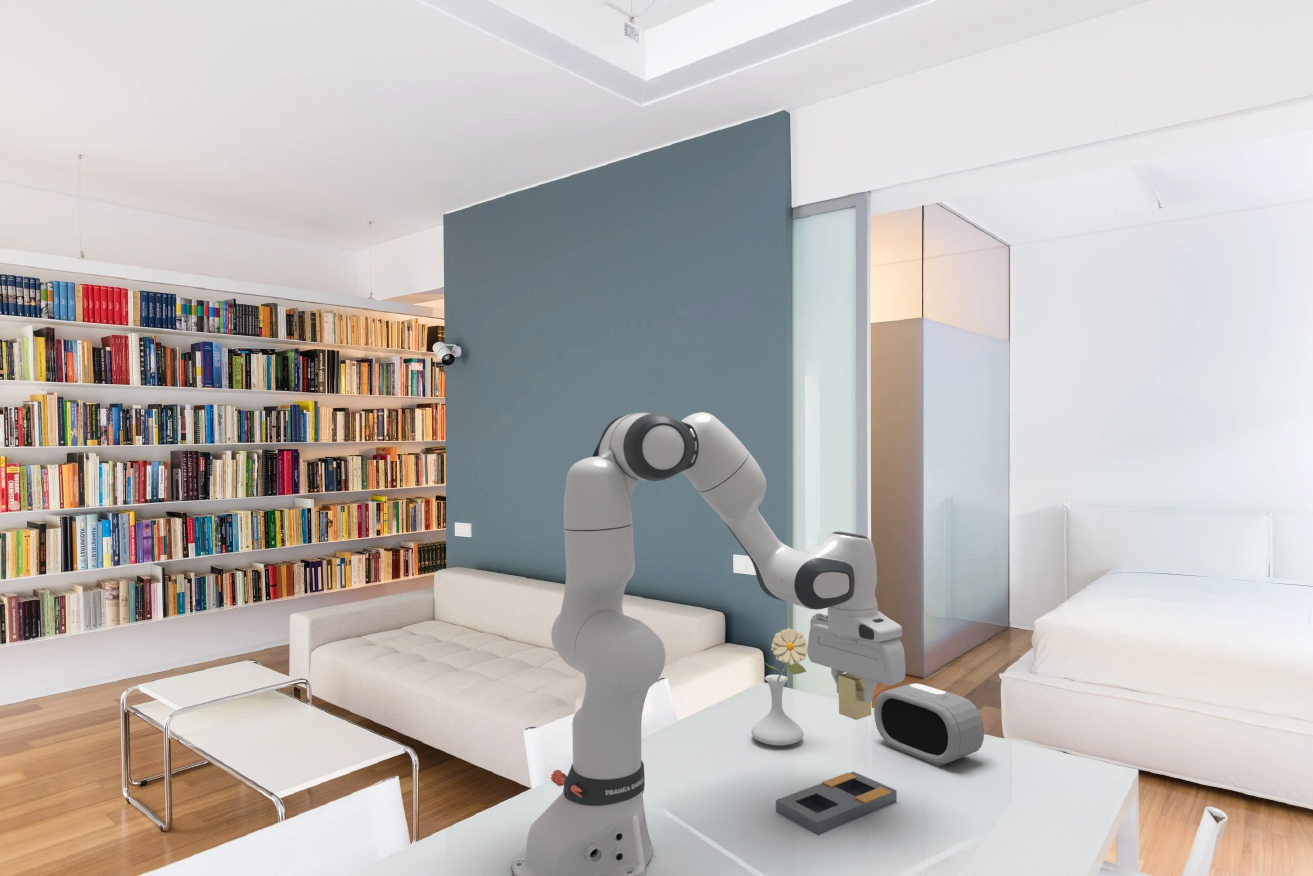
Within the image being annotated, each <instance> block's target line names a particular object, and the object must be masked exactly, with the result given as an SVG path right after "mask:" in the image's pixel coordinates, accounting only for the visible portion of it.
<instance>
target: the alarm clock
mask: <svg viewBox="0 0 1313 876" xmlns="http://www.w3.org/2000/svg"><path fill="white" fill-rule="evenodd" d="M873 709H874V711H873V712H874V713H873V716H874V722H875V727H876V729H877V732H878V733H879V735H880V736H881V738H882V739H883V740H884V741H885V742H886V743H888V744H890V745H891V746H893V747H892V748H893V749H895V750H896V749H897V750H896V751H899V750H900V751H899V752H902V753H905V754H907V755H910V756H912V757H914V758H917V759H919V760H921V761H925V762H927V763H930V764H932V765H935V766H938V767H941V766H944V765H946V764H949V763H952V762H954V761H956V759H957V760H959V758H960V759H962V758H963V757H965V756H968V755H971V754H973V753H976V752H978V751H979V750H980V749H981V748H982V745H983V742H984V737H985V728H984V727H985V726H984V721H983V717H982V714H981V712H980V711H979V709H978V707H977V706H976V705H975V704H974V703H973V702H972V700H970V699H967V698H965V697H963V696H961V695H958V694H956V693H952V692H949V691H945V690H942V689H940V688H935V687H932V686H928V685H925V684H923V683H922V684H921V683H915V682H912V683H908V684H905V685H901V686H898V687H895V688H890V689H888V690H885V691H883V692H881V693H879V694H878V695H877V697H876V699H875V702H874V707H873ZM961 757H962V758H961Z"/></svg>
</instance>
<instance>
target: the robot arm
mask: <svg viewBox="0 0 1313 876" xmlns="http://www.w3.org/2000/svg"><path fill="white" fill-rule="evenodd" d="M680 473H681V474H682V475H684V476H685V477H686V478H687V479H688V480H689V482H690V483H691V484H692V487H694V488H695V490H696V491H697V493H699V495H700V496H701V497H702V498H703V499H704V501H705V502H706V503H707V504H708V505H709V506H710V507H711V508H712V509H713V511H714V512H715V513H716V514H717V515H718V516H719V517H720V519H721V520H722V521H723V523H724V524H725V525H726V526H727V528H728V529H729V531H730V533H732V535H733V536H734V538H735V539H736V540H737V542H738V543H739V545H740V546H741V548H742V549H743V551H744V552H745V553H746V555H747V556H748V558H749V560H750V562H751V563H752V566H753V569H754V572H755V574H756V578H757V581H758V584H759V586H760V588H761V590H762V591H763V592H764V593H765V594H766V595H767V596H768V597H770V598H772V599H774V600H779V601H782V602H783V601H784V602H788V603H790V604H794V605H796V606H799V607H802V608H805V609H809V610H824V609H827V615H825V614H823V613H816V614H814V615H812V617H810V618H811V619H810V621H809V622H810V625H809V626H810V629H809V633H808V637H807V638H808V640H807V643H808V649H807V650H808V652H807V656H808V659H809V661H810V662H811V663H813V664H817V665H820V666H824V667H827V668H829V669H830V670H831V671H830V673H831V675H832V678H833V681H834V682H835V684H836V693H837V694H839V689H838V675H841V674H845V673H849V674H853V675H856V676H859V677H863V678H864V684H866V687H865V689H864V691H860V700H861V701H863V702H866V703H869V702H871V703H872V702H873V699H874V697H873V696H874V695H873V692H874V691H875V689H876V687H877V685H878V683H880V684H883V685H886V686H895V685H898V684H901V683H903V682H904V679H905V678H906V657H905V650H904V649H905V648H904V646H903V645H904V644H903V643H902V641H901V640H900V639H899V638H900V637H901V636H903V627H902V625H901V624H899V623H897V622H896V621H894V620H892V619H891V618H889V617H888V616H887V615H886V614H884V613H882V611H879V609H878V608H879V607H878V600H877V598H876V587H877V584H878V583H877V582H878V572H877V571H878V569H877V557H876V551H875V548H874V543H873V542H872V540H871V539H870V538H869V537H868V536H866V535H862V534H858V533H852V532H845V531H833V532H830V534H829V536H828V537H827V538H826V539H825V540H824V541H823V542H822V543H820V544H819V545H817V546H816V547H814V548H813V549H810V550H808V551H807V552H806V551H804V550H803V551H802V550H798V549H796V548H794V547H791V546H788V545H786V544H785V543H783V542H782V541H781V540H779V539H778V537H777V536H776V534H775V533H774V531H773V530H772V528H771V527H770V526H769V524H768V523H767V521H766V520H765V519H764V517H763V515H762V514H761V512H760V511H759V508H758V507H759V506H760V504H761V503H762V502H763V500H764V498H765V495H766V492H767V486H768V485H767V478H766V477H765V475H764V472H763V470H762V468H761V466H760V465H759V463H758V462H757V460H756V459H755V457H754V456H753V455H752V454H751V452H750V451H749V450H748V449H747V448H746V446H745V445H744V444H743V442H742V441H741V440H740V439H739V438H738V437H737V436H736V435H735V434H734V432H732V431H731V430H730V428H728V427H727V426H726V424H724V423H723V422H722V421H720V420H719V419H718V418H717V417H716V416H715V415H713V414H711V413H708V412H703V411H701V412H695V413H691V414H690V415H687V416H686V417H684V418H683V419H682V420H679V419H678V418H675V417H673V416H670V415H668V414H665V413H664V414H663V413H657V412H654V413H653V412H652V413H650V412H645V411H643V412H641V411H640V412H635V413H633V412H632V413H629V414H624V415H621V416H618V417H616V418H614V420H612V421H611V422H609V424H607V426H606V427H605V429H604V430H603V431H602V434H601V436H600V439H599V441H598V443H597V446H596V448H595V450H594V451H593V454H592V456H590V457H589V456H588V457H586V458H582V459H581V460H579V461H577V462H575V463H574V464H573V465H571V467H570V468H569V470H568V472H567V475H566V480H565V487H564V496H563V497H564V498H563V528H564V529H563V532H564V548H565V549H564V551H565V570H566V572H565V587H564V592H563V599H562V603H561V609H560V613H559V614H558V615H557V617H556V618H555V620H554V621H553V625H552V628H551V633H550V634H551V641H552V645H553V648H554V649H555V651H556V652H557V654H558V655H559V657H560V658H561V659H562V661H563V662H564V663H565V664H567V665H568V666H569V667H571V668H572V669H574V670H577V671H578V672H580V673H582V674H583V675H584V678H585V690H584V691H585V692H584V696H583V700H582V703H581V707H580V708H579V709H578V710H577V711H575V713H574V716H573V718H572V725H571V728H572V764H571V765H570V768H569V771H568V773H567V775H566V774H565V773H564V772H562V771H561V770H560V769H555V770H553V772H552V774H551V775H550V779H551V782H552V783H553V784H555V785H556V786H558V787H562V786H563V789H562V792H561V794H559V796H558V797H557V798H556V799H555V800H554V801H553V802H552V803H551V804H550V805H549V806H548V808H546V809H545V810H544V811H543V812H542V813H541V815H540V816H538V817H537V818H536V819H535V820H534V821H533V822H532V823H531V824H530V825H531V826H530V827H529V831H528V834H527V840H526V849H525V850H522V851H521V852H519V853H516V854H515V855H514V856H513V858H512V862H511V871H513V872H512V874H513V873H514V875H515V876H646V867H647V865H648V864H649V862H650V861H651V860H652V858H653V854H654V847H653V844H652V842H651V838H650V834H649V830H648V825H647V821H646V812H645V804H644V803H645V802H644V792H645V784H646V783H645V779H646V778H645V763H644V762H643V760H642V719H643V711H644V707H645V706H644V705H645V702H646V699H647V695H648V692H649V689H650V688H651V687H652V686H653V685H655V683H656V682H657V681H658V680H659V679H660V677H661V675H662V673H663V671H664V669H665V664H666V649H665V646H664V643H663V641H662V639H661V637H659V635H658V634H657V633H655V631H653V629H651V628H650V627H649V626H648V625H646V624H645V623H644V622H643V621H641V620H639V619H637V618H634V617H632V616H631V617H630V616H628V615H625V614H624V611H623V600H624V594H625V590H626V587H627V584H628V582H629V581H630V580H631V579H632V577H633V575H634V573H635V570H636V561H635V559H636V558H635V544H634V527H633V513H632V501H633V499H632V498H633V494H634V491H635V488H636V487H637V485H638V483H639V482H640V481H645V482H647V481H649V482H661V481H664V480H667V479H671V478H672V477H675V476H676V475H679V474H680ZM514 875H513V876H514Z"/></svg>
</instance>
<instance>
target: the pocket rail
mask: <svg viewBox="0 0 1313 876" xmlns="http://www.w3.org/2000/svg"><path fill="white" fill-rule="evenodd" d="M897 791H898V790H896V789H894V788H892V787H890V786H887V785H885V784H883V783H881V782H878V781H876V780H874V779H871V778H870V777H868V776H867V777H866V776H864V775H863V774H860V773H857V772H856V771H851V772H845V773H843V774H839V775H837V776H835V777H831V778H829V779H826V780H824V781H821V783H819V784H816V785H814V786H811V787H807V788H805V789H803V790H800V791H798V792H794V793H791V794H789V795H786V796H783V797H780V798H779V799H775V812H776V813H777V814H778V815H781V816H782V817H784V818H786V819H788V820H790V821H792V822H793V823H795V824H796V825H799V826H800V827H802V828H804V829H806V830H808V831H809V832H812V833H814V835H816V836H820V835H822V834H824V833H826V832H829V831H831V830H833V829H836V828H838V827H840V826H843V825H846V824H848V823H850V822H853V821H855V820H856V819H859V818H862V817H864V816H866V815H868V814H871V813H873V812H876V811H878V810H881V809H883V808H886V807H888V806H890V805H893V804H895V803H897V802H898V801H897V799H898V797H897V793H898V792H897Z"/></svg>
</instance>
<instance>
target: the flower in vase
mask: <svg viewBox="0 0 1313 876" xmlns="http://www.w3.org/2000/svg"><path fill="white" fill-rule="evenodd" d="M772 640H773V641H772V643H771V645H770V646H771V648H770V650H771V651H772V652H773V653H772V654H773V655H774V656H775V660H777V661H779V662H781V663H783V664H785V666H784V667H783V669H782V670H779V669H778V668H777V667H775V666H771V665H769V664H768V663H766V662H764V664H765V665H766V666H767V667H769V668H771V669H773V670H775V671H778V673H779V672H780V673H779V674H768V675H766V676H765V677H764V679H765V681H766V682H767V684H768V686H769V689H770V695H771V696H770V697H771V708H770V710H769V712H768V713H767V714H766V715H765V716H763V717H762V718H761V719H760V720H758V721H757V722H756V723H755V724H754V725H753V727H752V729H751V735H752V736H753V738H754V739H755V740H757V741H758V742H761V743H762V744H765V745H769V746H789V745H793V744H796V743H799V742H800V741H801V740H802V739H803V737H804V736H805V735H804V734H805V733H804V731H803V729H802V728H801V726H800V725H799V724H798V723H797V722H796V721H795V720H793V719H792V718H791V717H790V716H789V715H787V714H786V712H784V709H783V702H782V701H783V690H784V686H785V684H786V683H787V681H788V679H789V678H788V677H787V676H785V675H783V673H784V672H785V670H786V668H787V669H788V670H789V672H790V673H791V674H793V675H799V674H803V673H805V672H807V670H806V668H805V667H804V666H803V665H801V664H800V662H802V661H804V660H805V659H806V657H807V655H808V641H807V638H806V637H805V635H804V633H802V632H801V631H797V629H795V628H794V629H791V628H790V627H788V628H786V629H781V631H780V632H777V633H775V634H774V637H773V639H772Z"/></svg>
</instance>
